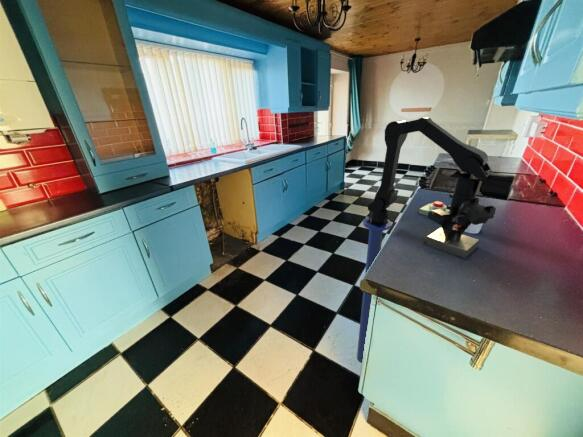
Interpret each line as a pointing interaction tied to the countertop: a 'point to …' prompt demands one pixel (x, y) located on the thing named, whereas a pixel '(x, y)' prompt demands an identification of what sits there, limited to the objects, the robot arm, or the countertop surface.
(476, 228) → the white tapered cup
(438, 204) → the lock button
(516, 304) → the countertop surface
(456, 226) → the knob
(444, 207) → the pale green button base
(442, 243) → the panel
